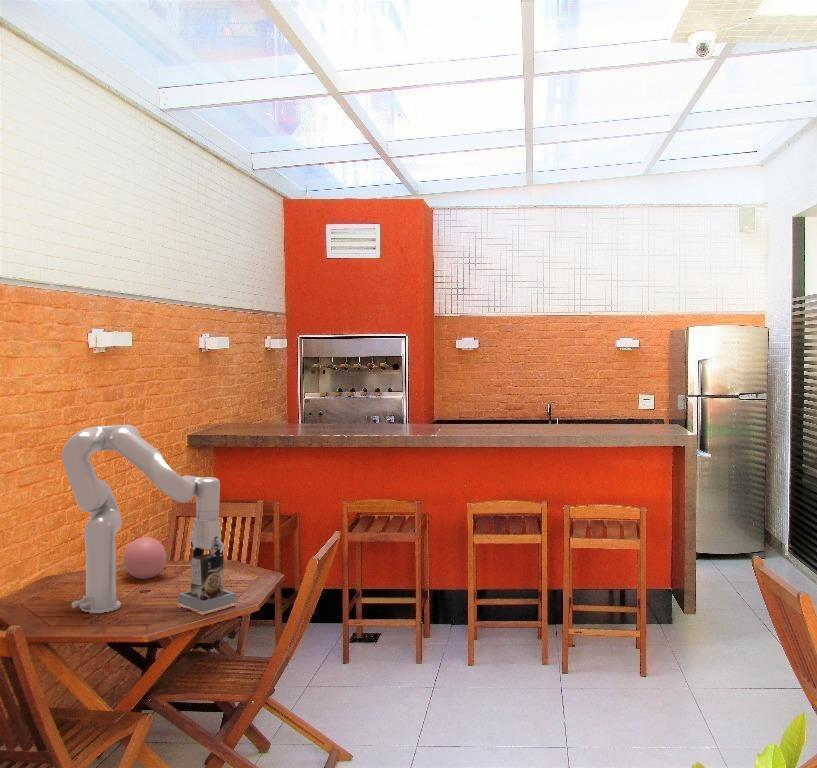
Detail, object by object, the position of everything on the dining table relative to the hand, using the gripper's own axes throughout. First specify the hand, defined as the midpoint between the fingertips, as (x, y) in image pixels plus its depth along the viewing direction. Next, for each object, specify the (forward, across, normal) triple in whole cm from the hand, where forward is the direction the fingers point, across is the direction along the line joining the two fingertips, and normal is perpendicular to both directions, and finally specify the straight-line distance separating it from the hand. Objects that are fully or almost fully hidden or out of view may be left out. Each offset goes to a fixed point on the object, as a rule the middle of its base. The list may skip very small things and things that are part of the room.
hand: (206, 564), depth 288 cm
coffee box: (+13, +1, 0) cm, 13 cm away
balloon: (+15, -46, +6) cm, 48 cm away
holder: (+14, 0, 0) cm, 14 cm away
